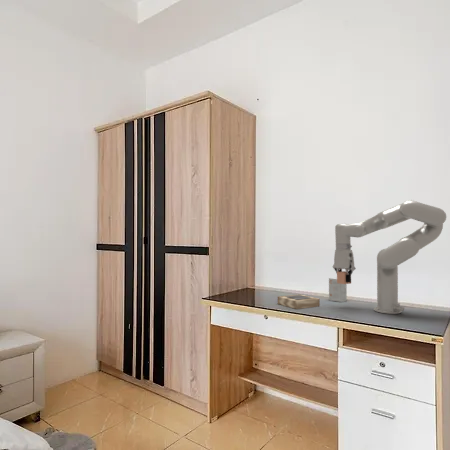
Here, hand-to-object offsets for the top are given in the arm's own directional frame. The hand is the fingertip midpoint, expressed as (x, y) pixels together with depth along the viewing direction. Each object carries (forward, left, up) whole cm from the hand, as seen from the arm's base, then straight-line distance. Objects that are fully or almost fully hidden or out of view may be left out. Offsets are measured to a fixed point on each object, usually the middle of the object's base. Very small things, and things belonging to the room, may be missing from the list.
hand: (344, 281), depth 191 cm
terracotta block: (0, 0, -1) cm, 1 cm away
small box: (+16, -13, -14) cm, 25 cm away
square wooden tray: (+17, +16, -14) cm, 28 cm away
